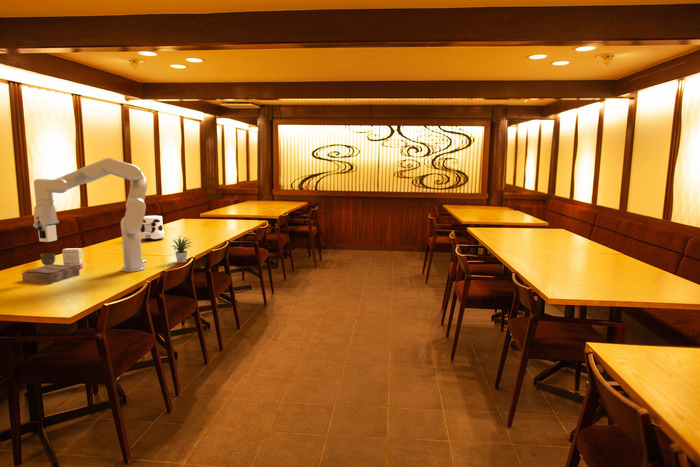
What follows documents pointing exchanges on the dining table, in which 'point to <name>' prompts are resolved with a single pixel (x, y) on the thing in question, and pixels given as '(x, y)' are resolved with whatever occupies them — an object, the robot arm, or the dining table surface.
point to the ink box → (72, 257)
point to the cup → (48, 258)
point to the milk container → (152, 228)
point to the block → (49, 233)
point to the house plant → (181, 250)
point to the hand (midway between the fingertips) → (47, 236)
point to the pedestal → (50, 273)
